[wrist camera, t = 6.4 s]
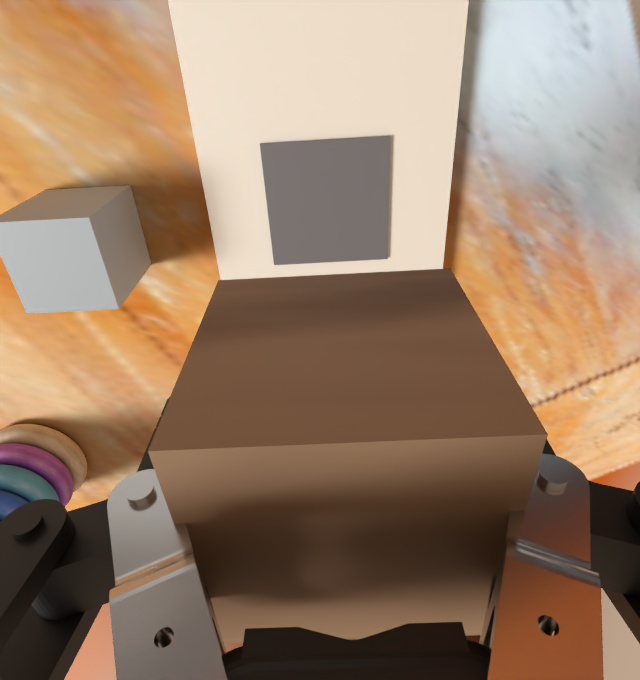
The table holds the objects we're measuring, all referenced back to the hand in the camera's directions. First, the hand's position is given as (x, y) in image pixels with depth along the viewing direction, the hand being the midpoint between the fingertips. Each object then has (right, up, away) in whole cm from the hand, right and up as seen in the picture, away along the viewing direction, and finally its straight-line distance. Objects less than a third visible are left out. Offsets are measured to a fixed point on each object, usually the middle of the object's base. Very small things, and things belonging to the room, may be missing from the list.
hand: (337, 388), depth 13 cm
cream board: (0, +10, +15) cm, 18 cm away
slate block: (-14, +8, +16) cm, 23 cm away
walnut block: (0, 0, +1) cm, 1 cm away
